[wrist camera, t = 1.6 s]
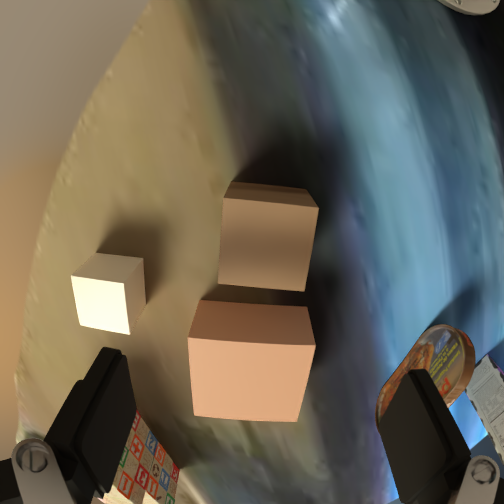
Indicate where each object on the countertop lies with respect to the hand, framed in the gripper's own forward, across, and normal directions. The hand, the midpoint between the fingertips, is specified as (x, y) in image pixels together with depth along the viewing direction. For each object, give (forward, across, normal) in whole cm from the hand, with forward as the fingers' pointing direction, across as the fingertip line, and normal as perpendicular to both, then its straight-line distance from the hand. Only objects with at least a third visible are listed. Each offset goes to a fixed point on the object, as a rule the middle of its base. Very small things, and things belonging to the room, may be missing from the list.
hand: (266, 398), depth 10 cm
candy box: (+19, -36, +19) cm, 45 cm away
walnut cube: (+18, 0, -1) cm, 18 cm away
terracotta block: (+19, 0, +12) cm, 23 cm away
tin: (+19, -19, +14) cm, 30 cm away
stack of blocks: (+19, +14, +33) cm, 41 cm away
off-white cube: (+19, +13, +6) cm, 23 cm away
